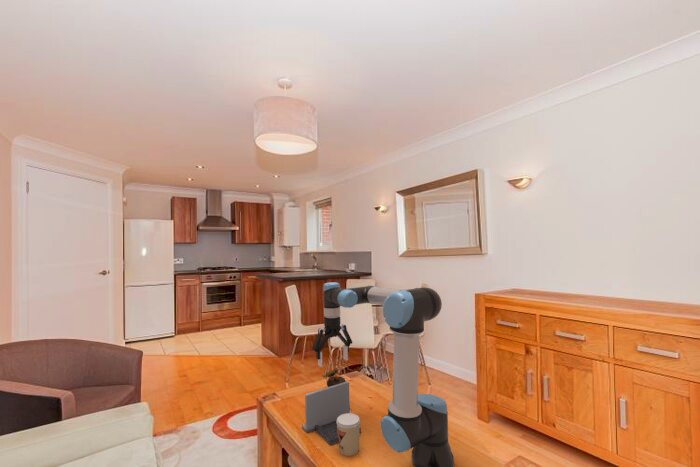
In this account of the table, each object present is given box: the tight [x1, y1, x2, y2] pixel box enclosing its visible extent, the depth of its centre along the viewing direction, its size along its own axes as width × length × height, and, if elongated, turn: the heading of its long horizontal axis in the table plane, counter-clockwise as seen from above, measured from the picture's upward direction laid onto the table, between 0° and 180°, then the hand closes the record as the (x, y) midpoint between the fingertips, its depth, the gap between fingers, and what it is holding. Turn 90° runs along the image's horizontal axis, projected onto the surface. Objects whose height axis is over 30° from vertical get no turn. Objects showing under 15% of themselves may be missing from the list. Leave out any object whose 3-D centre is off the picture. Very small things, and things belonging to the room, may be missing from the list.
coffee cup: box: [336, 412, 361, 457], centre depth 132 cm, size 9×9×12 cm
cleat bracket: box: [315, 422, 362, 446], centre depth 144 cm, size 14×15×2 cm
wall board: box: [301, 381, 351, 434], centre depth 152 cm, size 5×22×16 cm, turn 124°
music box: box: [321, 367, 347, 387], centre depth 166 cm, size 15×11×20 cm
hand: (333, 362), depth 154 cm, fingers open, 13 cm apart
